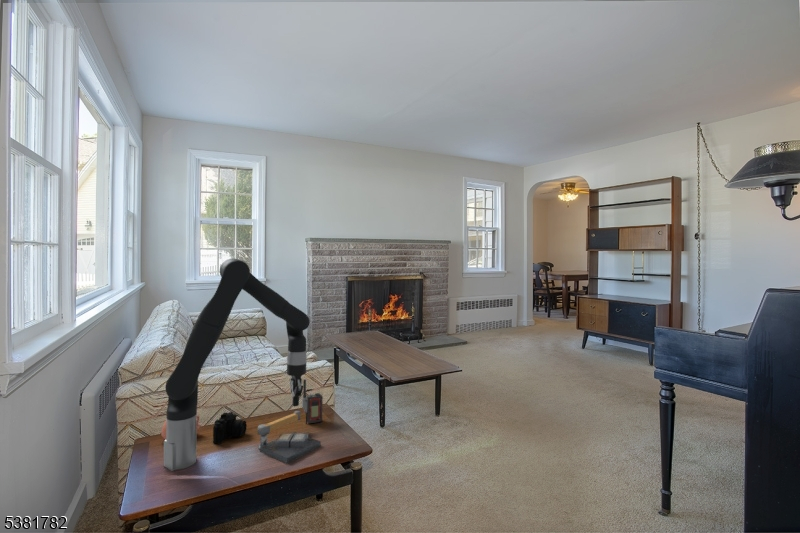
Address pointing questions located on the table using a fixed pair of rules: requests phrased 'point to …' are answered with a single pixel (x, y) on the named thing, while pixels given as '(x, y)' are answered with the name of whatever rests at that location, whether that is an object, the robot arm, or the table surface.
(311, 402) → the walkie-talkie
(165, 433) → the sugar bowl
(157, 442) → the table surface
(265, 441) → the post
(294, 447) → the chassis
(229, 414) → the film camera
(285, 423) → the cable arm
